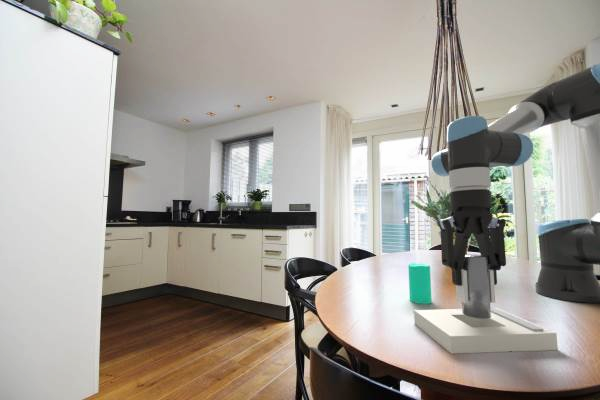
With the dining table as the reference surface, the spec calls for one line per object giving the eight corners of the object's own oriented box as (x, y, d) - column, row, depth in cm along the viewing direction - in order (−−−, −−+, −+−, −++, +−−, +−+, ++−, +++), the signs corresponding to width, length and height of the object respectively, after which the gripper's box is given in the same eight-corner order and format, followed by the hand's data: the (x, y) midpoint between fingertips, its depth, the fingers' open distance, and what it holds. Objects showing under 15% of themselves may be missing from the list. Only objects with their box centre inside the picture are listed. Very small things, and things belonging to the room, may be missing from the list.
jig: (498, 321, 63) (497, 306, 63) (557, 349, 49) (556, 330, 49) (414, 323, 62) (413, 308, 62) (451, 353, 48) (450, 333, 48)
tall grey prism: (479, 309, 58) (476, 254, 59) (497, 318, 53) (493, 257, 54) (457, 310, 58) (454, 254, 59) (473, 318, 53) (469, 257, 54)
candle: (434, 304, 76) (432, 261, 77) (411, 303, 77) (410, 260, 78) (428, 298, 82) (427, 258, 83) (407, 297, 83) (406, 257, 84)
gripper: (496, 191, 62) (502, 295, 60) (420, 192, 61) (424, 296, 59) (525, 187, 54) (533, 305, 53) (438, 188, 54) (444, 307, 52)
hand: (475, 300), depth 56 cm, fingers closed on tall grey prism, 5 cm apart
